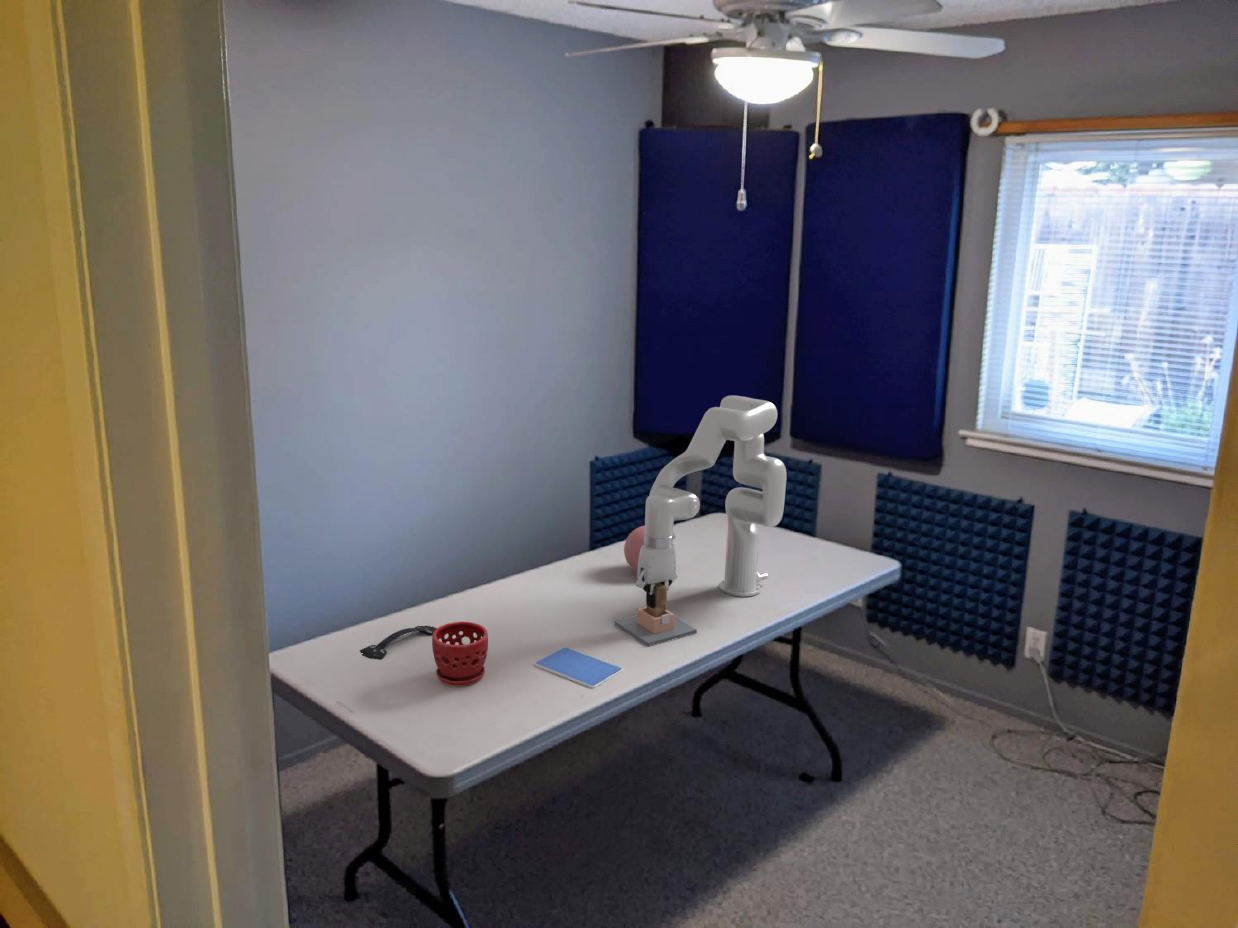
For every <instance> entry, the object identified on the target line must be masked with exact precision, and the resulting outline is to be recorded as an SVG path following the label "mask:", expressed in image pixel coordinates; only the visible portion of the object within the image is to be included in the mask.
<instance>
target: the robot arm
mask: <svg viewBox="0 0 1238 928" xmlns="http://www.w3.org/2000/svg"><path fill="white" fill-rule="evenodd" d="M777 419H778V410H777V407H776V405H775V404H774V403H772V402H770V401H768V400H764V399H757V398H753V397H752V398H751V397H747V396H740V395H727V396H725V397H723V398H722V399H721V402H720V405H719V407H718V406H714V407H710V408H708V410H707V411H706V412H705V413H704V414H703V417H702V418H701V421H700V423H699V425H698V427H697V428H696V430H695V433H694V435H693V437H692V439H691V441H690V443H689V445H688V447H687V448H686V450H685V451H684V452H683V453H681V454H679V455H678V456H677V457H675V458H674V459H672V460H671V461H670V462H669V463H667V464H666V465H664V467H663V468H662V469H661V470H660V471H659V473H658V475H657V476H656V479H655V481H654V483H653V485H652V487H651V489H650V492H649V496H647V498H646V499H645V514H644V515H645V517H644V526H645V539H644V545H642V547H641V550H640V554H639V560H638V568H637V571H636V578H637V581H636V582H635V586H636V587H638V588H639V589H642V590H643V591H644V592H645V604H646V607H647V606H649V607H651V608H655V594H653V593H654V587H655V583H661V584H663V585H665V586H666V596H667V593H668V591H669V590H670V587H671V586H672V584H673V582H675V581H676V580H677V579H678V575H677V572H676V571H677V558H676V549H675V545H674V544H673V543H674V542H673V540H674V539H676V534H675V533H674V522H676V521H686V520H690V519H692V518H694V517H695V516H696V515H697V514H698V513H699V510H700V506H701V502H700V499H699V497H698V496H697V495H696V494H694V493H693V492H691V491H687V490H683V489H680V488H675V487H674V486H675V484H676V483H677V482H678V481H679V480H680V479H682V478H683V477H684V476H686V475H689V474H692V473H695V472H699V471H700V472H701V471H704V470H706V469H710V468H711V467H713V466H714V465H715V463H716V461H717V459H718V457H720V454H721V451H722V449H723V447H724V445H725V444H726V441H733V442H734V448H733V449H734V451H733V464H732V465H733V466H732V475H733V478H734V480H735V481H736V482H738V483H740V484H742V485H745V486H750V487H753V488H758V489H762V491H760V490H757V489H752V488H747V487H735V488H733V489H731V490H730V491H729V492H728V493H727V495H726V498H725V502H724V504H725V514H726V523H727V526H726V527H727V528H726V529H727V530H726V548H725V549H726V550H725V562H724V563H725V565H724V580H721V581H720V582H719V584H718V589H719V590H720V591H721V592H722V593H724V594H727V595H729V596H734V597H743V598H745V597H752V596H756V595H758V594H759V593H761V592H762V586H761V585H760V582H761V581H764V580H767V579H768V578H769V575H768V572H767V573H766V572H763V573H759V572H758V558H759V543H760V532H759V528H758V526H757V525H759V526H761V527H762V526H763V527H769V528H772V527H773V528H774V527H776V526H777V525H778V524H780V522H781V521H782V519H783V514H784V508H785V500H786V499H785V498H786V489H787V487H786V486H787V469H786V466H785V463H784V462H783V461H782V460H780V459H779V458H777V457H772V456H768V455H766V454H765V449H764V448H765V437H764V436H765V435H764V434H765V433H767V432H769V431H770V430H771V429H772V428H773V427H774V426H775V424H776V422H777ZM649 585H650V588H649Z"/></svg>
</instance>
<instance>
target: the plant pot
mask: <svg viewBox="0 0 1238 928" xmlns="http://www.w3.org/2000/svg"><path fill="white" fill-rule="evenodd" d="M436 628H437V629H436V630H435V631H434V632H433V635H431V636H432V637H431V640H432V642H431V644H432V653H433V658H434V663H435V664H436V667H437V668H436V670H435V671H436V672H435V674H436V677H437V679H438V680H439V681H441V682H442V683H443V684H446V685H449V686H452V687H453V686H454V687H464V686H465V687H466V686H469V685H473V684H476V683H478V682H479V681H480V680H482V679H483V677H484V676H485V673H486V669H485V668H486V667H485V666H484V665H485V662H486V659H487V655H488V650H489V632H488V629H487V628H486V627H485V626H483V625H481V624H479V623H477V622H472V621H455V622H448V623H445V624H443V625H440V626H439V627H436ZM460 632H462V634H460ZM474 634H476V636H474ZM446 635H448V637H447V638H445V637H446ZM454 636H455V638H453V637H454ZM463 638H468V639H469V643H466V644H464V643H463V641H462V639H463ZM447 642H449V643H447ZM456 643H458V644H456Z"/></svg>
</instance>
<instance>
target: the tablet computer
mask: <svg viewBox="0 0 1238 928" xmlns="http://www.w3.org/2000/svg"><path fill="white" fill-rule="evenodd" d="M533 664H534V665H533V666H534V667H537V668H539V669H542V670H545V671H547V672H550V673H552V674H554V675H558V676H560V677H562V678H565V679H567V680H570V681H572V682H575V683H577V684H580V685H582V686H584V687H586V686H587V687H586V688H588V687H589V689H591V688H592V689H594V688H595V689H597V688H598V687H600V686H602V685H603V683H604V682H605V681H607V682H609V681H610V680H612V679H613V678H615V677H617V676H619V675H620V674H621V673H620V672H622V671H623V672H624V669H623V668H622V667H620V666H617V665H615V664H613V663H610V662H606V661H603V660H600V659H598V658H596V657H592V656H590V655H587V654H585V653H582V652H580V651H577V650H574V649H571V648H569V647H566V646H565V647H562V648H559V649H558V650H557V651H554V652H553V653H551V654H548V655H547V656H545V657H542V658H541V659H539V660H537V661H535V662H534V663H533ZM623 672H622V673H623ZM619 673H620V674H619ZM618 674H619V675H618ZM616 675H617V676H616ZM614 676H615V677H614ZM612 677H613V678H612ZM611 678H612V679H611ZM609 679H610V680H609ZM605 683H606V682H605ZM605 683H604V684H605ZM601 684H602V685H601ZM596 687H597V688H596ZM592 689H591V690H592Z"/></svg>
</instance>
